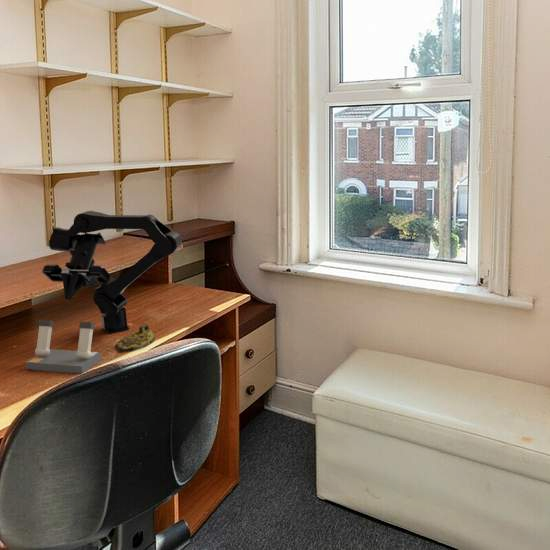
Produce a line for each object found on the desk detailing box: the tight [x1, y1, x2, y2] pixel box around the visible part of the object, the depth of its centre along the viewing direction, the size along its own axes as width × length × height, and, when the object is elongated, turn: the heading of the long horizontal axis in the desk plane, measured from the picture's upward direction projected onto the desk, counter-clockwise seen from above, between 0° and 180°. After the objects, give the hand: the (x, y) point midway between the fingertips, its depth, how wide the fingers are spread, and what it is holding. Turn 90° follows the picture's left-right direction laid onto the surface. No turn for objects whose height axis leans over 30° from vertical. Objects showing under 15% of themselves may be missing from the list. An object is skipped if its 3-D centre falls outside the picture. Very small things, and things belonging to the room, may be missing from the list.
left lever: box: [34, 319, 55, 356], centre depth 146 cm, size 2×3×9 cm, turn 77°
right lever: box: [76, 321, 96, 358], centre depth 144 cm, size 2×3×9 cm, turn 77°
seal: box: [116, 322, 156, 352], centre depth 159 cm, size 9×5×15 cm
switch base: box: [24, 348, 102, 375], centre depth 145 cm, size 9×16×2 cm, turn 77°
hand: (67, 299), depth 156 cm, fingers closed
